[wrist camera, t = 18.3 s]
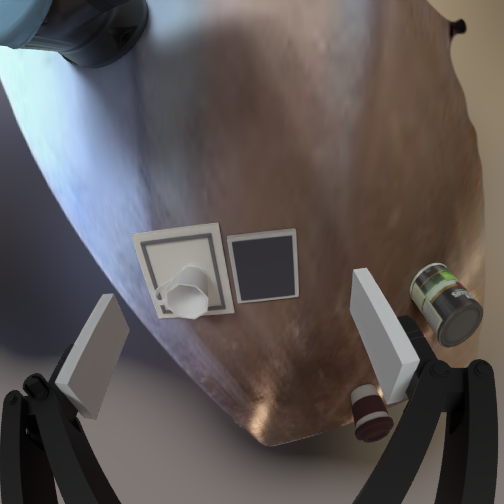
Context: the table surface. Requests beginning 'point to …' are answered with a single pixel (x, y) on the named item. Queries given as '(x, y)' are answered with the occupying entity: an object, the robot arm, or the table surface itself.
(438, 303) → the coffee can
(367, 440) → the coffee cup
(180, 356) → the table surface
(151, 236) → the board
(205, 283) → the cup
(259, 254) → the ink pad
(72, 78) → the table surface
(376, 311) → the robot arm
